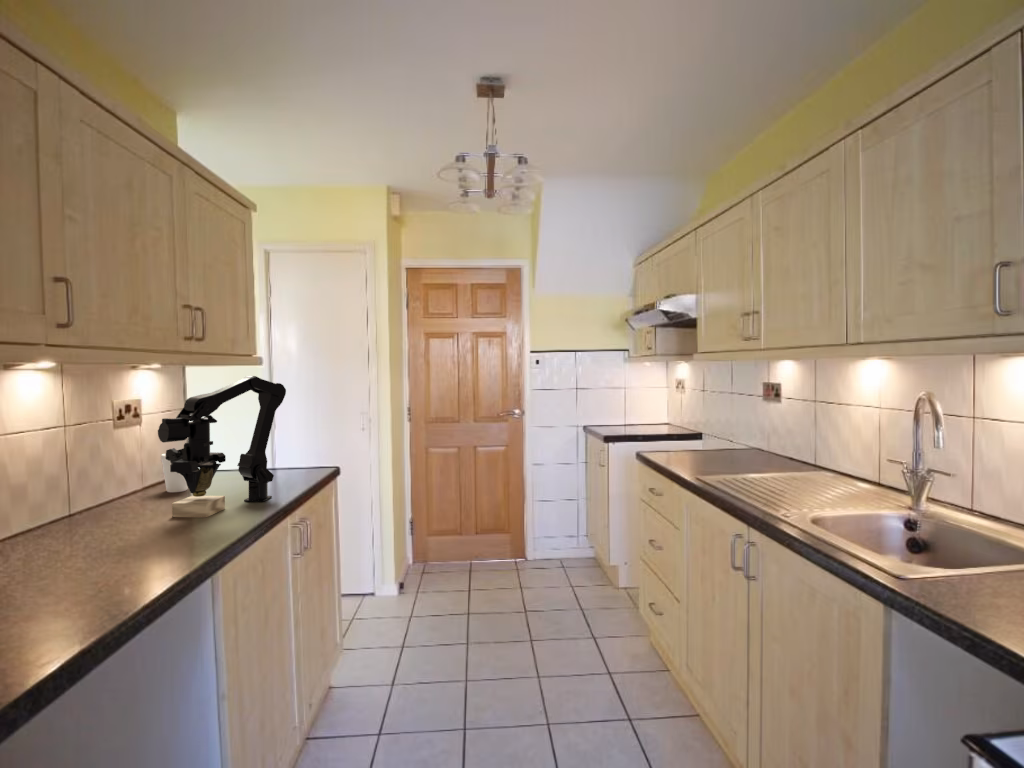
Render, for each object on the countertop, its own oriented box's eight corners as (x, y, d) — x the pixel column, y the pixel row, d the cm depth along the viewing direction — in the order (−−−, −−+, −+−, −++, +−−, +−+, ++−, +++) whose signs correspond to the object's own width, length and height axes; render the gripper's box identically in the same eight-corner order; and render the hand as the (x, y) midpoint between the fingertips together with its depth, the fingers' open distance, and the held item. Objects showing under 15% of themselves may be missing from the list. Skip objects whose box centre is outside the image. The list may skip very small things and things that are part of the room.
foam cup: (198, 488, 196) (198, 452, 196) (176, 494, 187) (176, 456, 187) (177, 486, 199) (177, 451, 198) (155, 492, 190) (154, 455, 189)
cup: (191, 500, 158) (191, 472, 158) (180, 496, 163) (180, 469, 162) (217, 495, 164) (217, 469, 164) (206, 491, 169) (206, 466, 168)
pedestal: (193, 508, 169) (192, 495, 168) (224, 508, 168) (224, 495, 168) (172, 516, 159) (172, 503, 158) (205, 517, 158) (205, 503, 158)
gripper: (191, 434, 172) (192, 483, 173) (151, 442, 154) (151, 497, 154) (226, 435, 172) (226, 484, 173) (190, 443, 154) (190, 498, 154)
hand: (199, 490), depth 163 cm, fingers closed on cup, 6 cm apart
